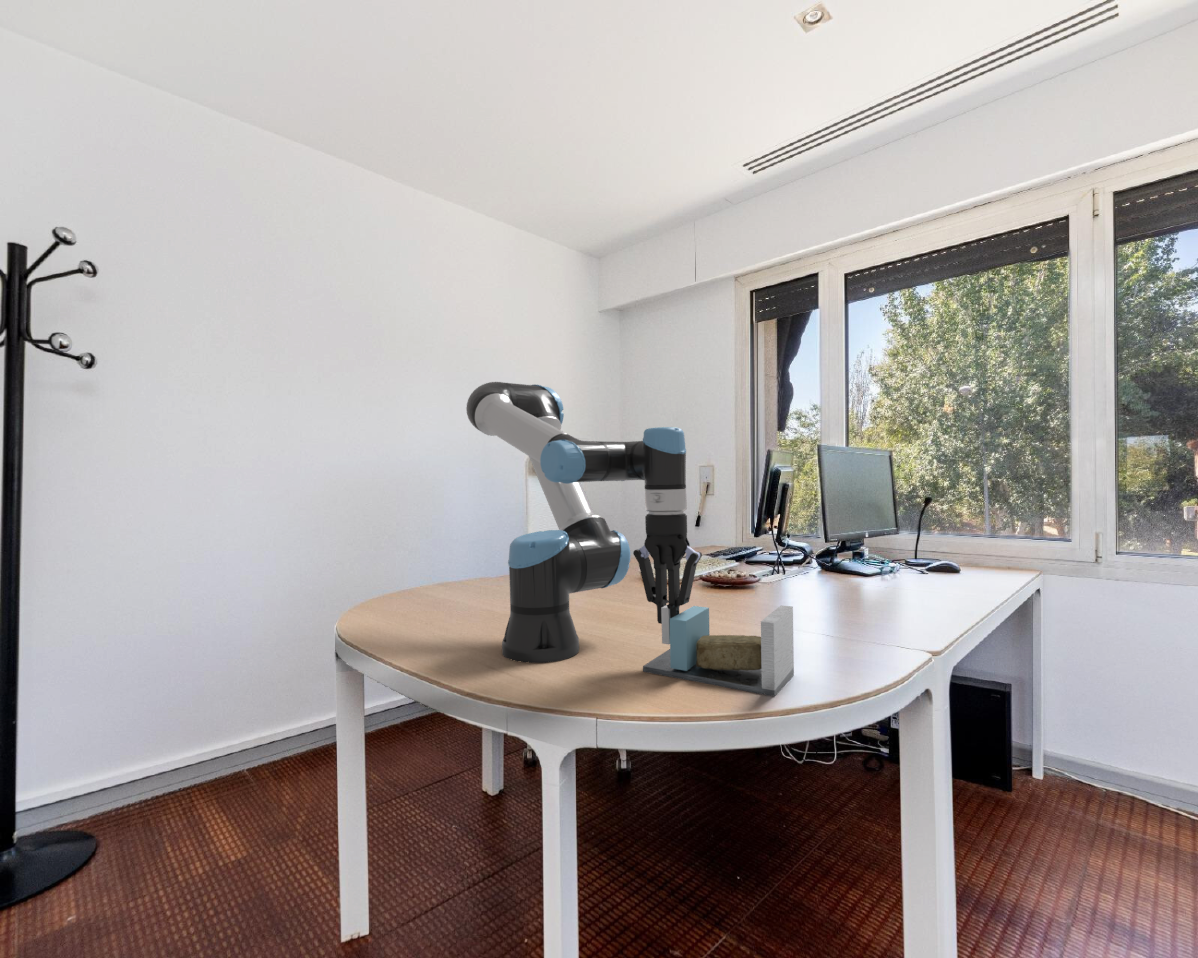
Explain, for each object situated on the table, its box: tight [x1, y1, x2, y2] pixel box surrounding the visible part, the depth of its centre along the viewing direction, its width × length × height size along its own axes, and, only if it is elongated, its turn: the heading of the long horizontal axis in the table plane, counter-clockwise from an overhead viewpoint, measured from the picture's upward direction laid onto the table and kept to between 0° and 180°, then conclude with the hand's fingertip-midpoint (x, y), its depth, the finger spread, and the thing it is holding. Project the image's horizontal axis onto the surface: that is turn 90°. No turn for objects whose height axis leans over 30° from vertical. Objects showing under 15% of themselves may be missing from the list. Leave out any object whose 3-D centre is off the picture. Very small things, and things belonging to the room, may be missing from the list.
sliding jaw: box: [669, 605, 710, 671], centre depth 103 cm, size 3×11×8 cm, turn 148°
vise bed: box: [642, 605, 795, 697], centre depth 101 cm, size 23×12×12 cm, turn 58°
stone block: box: [696, 634, 762, 670], centre depth 99 cm, size 6×12×5 cm, turn 71°
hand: (668, 641), depth 105 cm, fingers closed
